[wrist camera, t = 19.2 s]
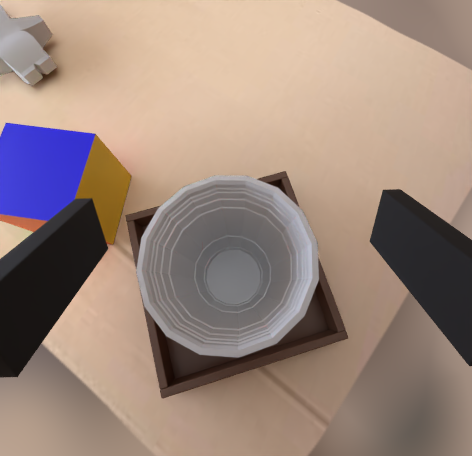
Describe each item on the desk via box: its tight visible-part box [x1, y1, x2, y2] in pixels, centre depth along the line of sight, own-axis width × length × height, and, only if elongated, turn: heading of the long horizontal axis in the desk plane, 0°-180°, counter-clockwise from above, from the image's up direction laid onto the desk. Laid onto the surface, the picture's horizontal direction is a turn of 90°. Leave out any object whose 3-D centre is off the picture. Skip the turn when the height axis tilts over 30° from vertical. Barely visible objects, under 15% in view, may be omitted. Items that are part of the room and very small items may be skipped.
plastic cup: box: [136, 176, 319, 358], centre depth 21 cm, size 11×11×12 cm
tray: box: [126, 171, 348, 398], centre depth 26 cm, size 16×16×3 cm
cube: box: [0, 123, 131, 245], centre depth 26 cm, size 8×8×8 cm
